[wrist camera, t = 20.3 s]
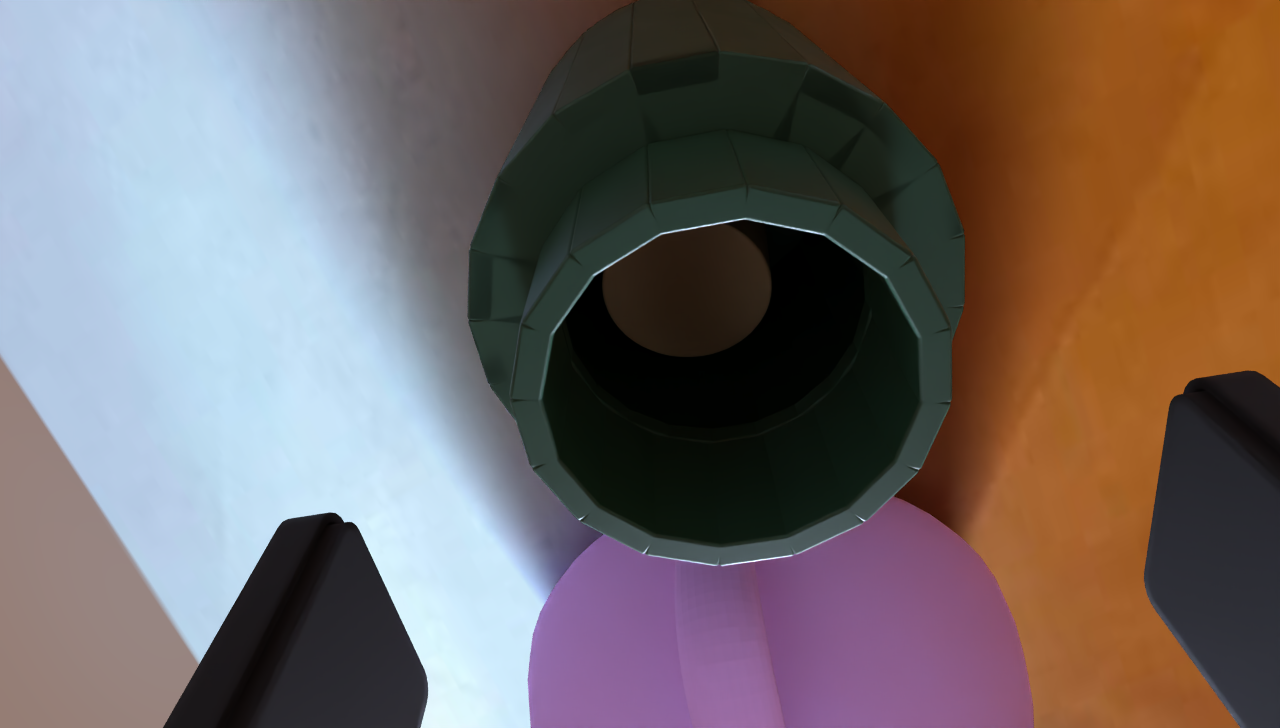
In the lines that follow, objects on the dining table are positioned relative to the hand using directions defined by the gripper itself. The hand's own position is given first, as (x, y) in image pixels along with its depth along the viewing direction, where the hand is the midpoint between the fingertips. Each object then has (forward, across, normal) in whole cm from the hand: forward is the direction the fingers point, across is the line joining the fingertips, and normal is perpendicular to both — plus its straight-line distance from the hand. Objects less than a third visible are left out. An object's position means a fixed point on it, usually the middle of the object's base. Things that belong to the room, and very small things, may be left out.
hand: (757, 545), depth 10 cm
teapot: (+16, 0, +20) cm, 26 cm away
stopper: (+15, 0, 0) cm, 15 cm away
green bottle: (+16, 0, 0) cm, 16 cm away
